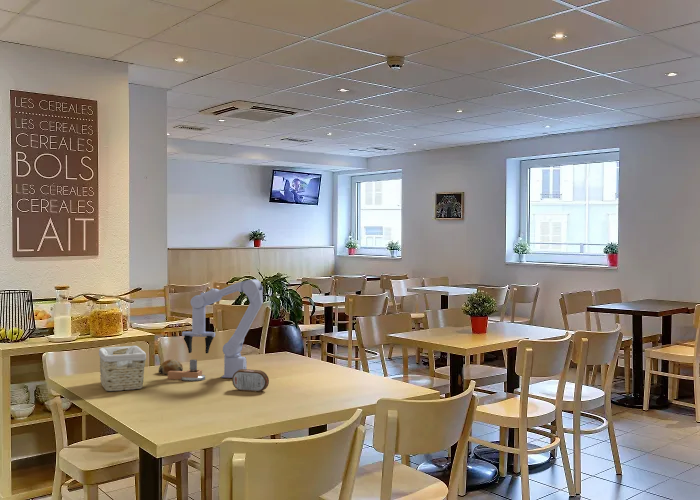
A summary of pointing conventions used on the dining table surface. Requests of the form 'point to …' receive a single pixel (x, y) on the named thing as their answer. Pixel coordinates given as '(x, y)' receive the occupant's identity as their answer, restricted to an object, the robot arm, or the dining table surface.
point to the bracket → (184, 374)
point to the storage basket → (122, 368)
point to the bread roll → (170, 366)
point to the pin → (193, 365)
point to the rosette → (193, 378)
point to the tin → (250, 380)
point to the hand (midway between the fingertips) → (198, 352)
